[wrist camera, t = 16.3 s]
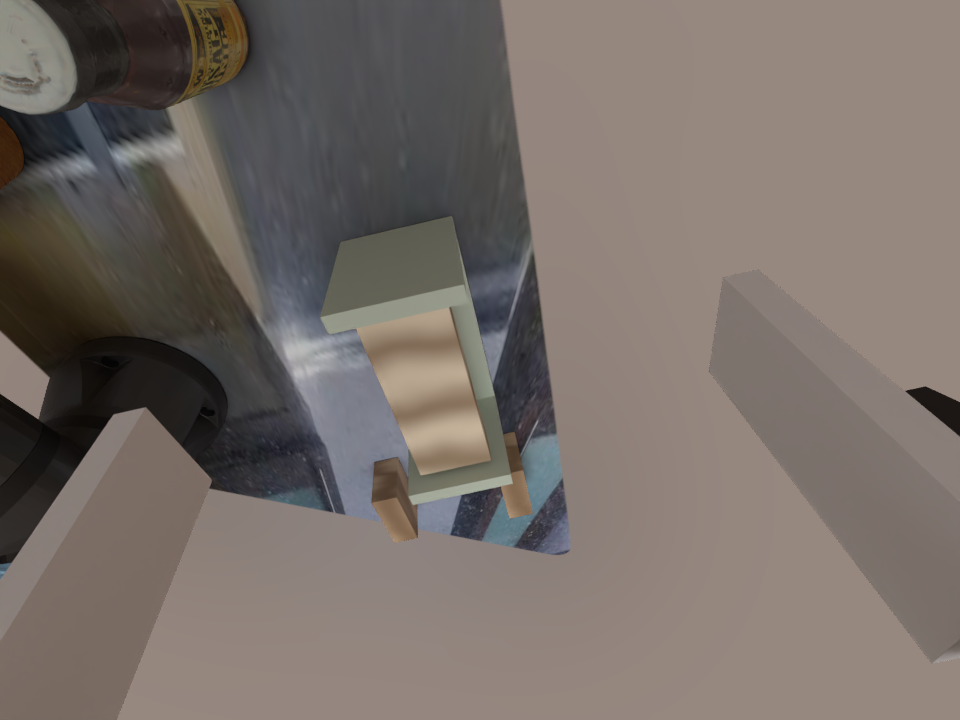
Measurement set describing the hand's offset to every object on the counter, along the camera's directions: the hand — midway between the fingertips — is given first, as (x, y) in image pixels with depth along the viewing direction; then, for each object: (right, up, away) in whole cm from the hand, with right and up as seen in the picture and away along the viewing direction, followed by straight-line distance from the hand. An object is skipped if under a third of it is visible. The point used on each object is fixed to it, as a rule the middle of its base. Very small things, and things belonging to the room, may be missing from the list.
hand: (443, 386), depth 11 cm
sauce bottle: (-17, +23, +20) cm, 35 cm away
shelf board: (-3, -1, +31) cm, 31 cm away
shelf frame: (-4, +4, +37) cm, 38 cm away
